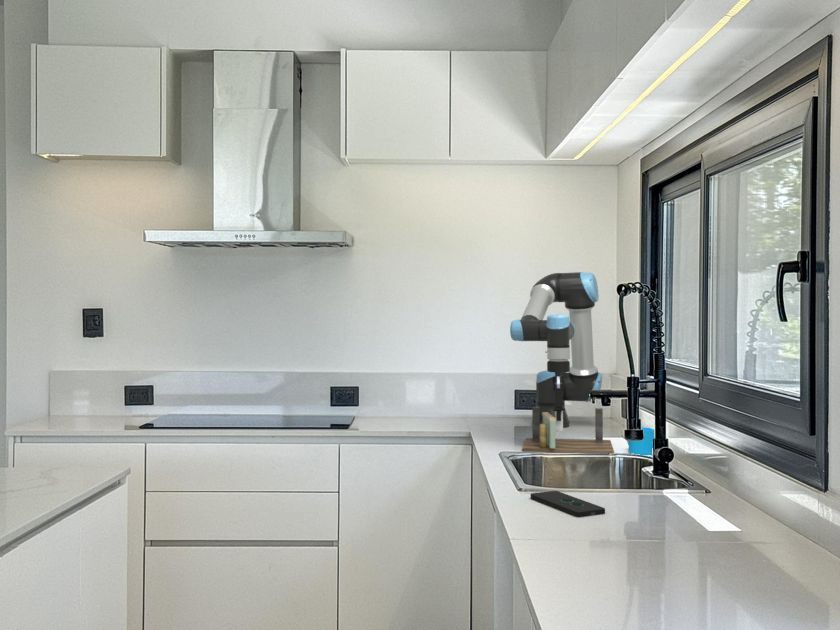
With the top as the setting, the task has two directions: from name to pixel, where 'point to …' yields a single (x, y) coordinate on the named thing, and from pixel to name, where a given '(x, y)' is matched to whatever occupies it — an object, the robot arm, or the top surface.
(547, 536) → the top surface
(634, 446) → the mug
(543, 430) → the gate frame
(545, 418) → the bar
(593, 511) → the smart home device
